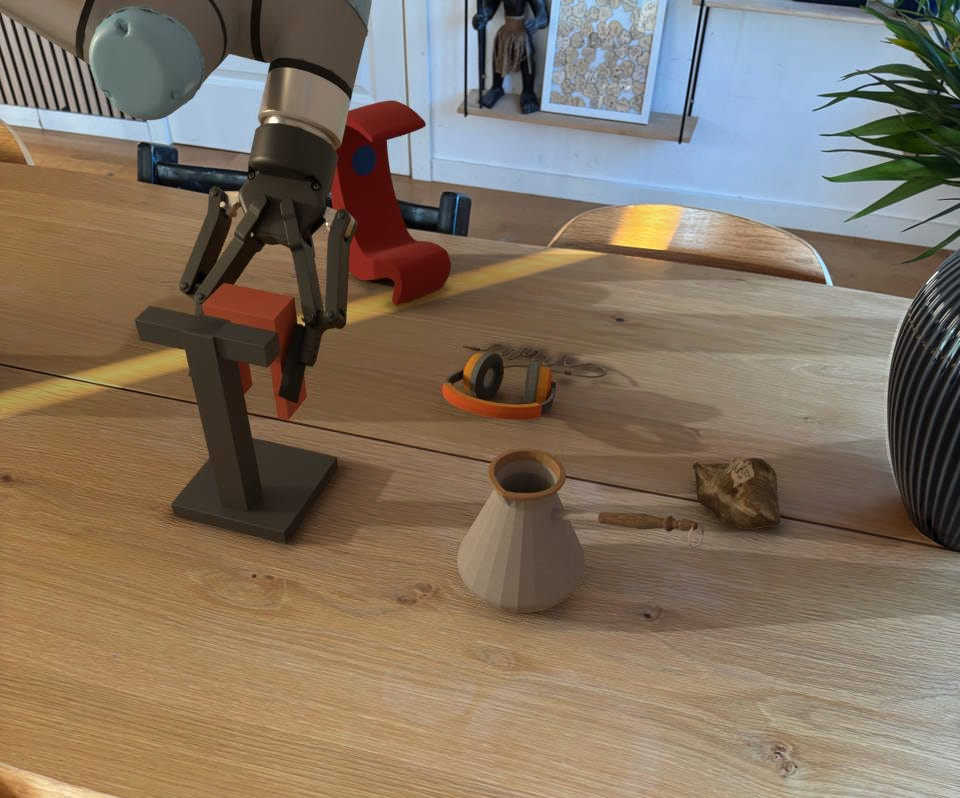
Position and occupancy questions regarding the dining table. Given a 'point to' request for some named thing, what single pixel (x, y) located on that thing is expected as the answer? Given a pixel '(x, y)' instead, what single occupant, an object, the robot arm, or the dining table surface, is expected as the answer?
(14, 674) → the dining table surface
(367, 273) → the chair
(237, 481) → the stand
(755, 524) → the fossilized seashell
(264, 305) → the clip
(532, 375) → the headphones
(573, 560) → the coffee pot
